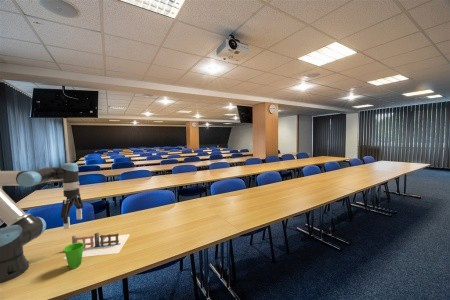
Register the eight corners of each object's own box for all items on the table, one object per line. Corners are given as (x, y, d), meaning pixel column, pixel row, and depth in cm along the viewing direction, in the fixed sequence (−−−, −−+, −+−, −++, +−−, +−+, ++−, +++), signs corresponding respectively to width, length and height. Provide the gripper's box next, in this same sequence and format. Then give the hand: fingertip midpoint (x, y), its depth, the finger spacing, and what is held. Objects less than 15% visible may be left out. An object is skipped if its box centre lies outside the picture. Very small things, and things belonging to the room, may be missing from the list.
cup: (89, 260, 111) (88, 242, 111) (77, 271, 102) (76, 251, 102) (72, 261, 111) (71, 242, 110) (60, 271, 102) (58, 251, 101)
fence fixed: (118, 245, 127) (117, 232, 126) (94, 247, 124) (93, 234, 124) (119, 243, 129) (119, 230, 129) (96, 245, 127) (95, 232, 126)
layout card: (118, 253, 118) (118, 252, 118) (62, 259, 112) (62, 258, 112) (130, 233, 142) (130, 233, 142) (85, 238, 137) (85, 237, 137)
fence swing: (93, 247, 124) (92, 235, 124) (72, 249, 122) (71, 237, 122) (94, 245, 126) (93, 233, 126) (73, 247, 124) (73, 235, 124)
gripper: (66, 194, 104) (68, 232, 106) (88, 183, 129) (90, 215, 130) (50, 195, 103) (52, 233, 104) (75, 184, 127) (77, 216, 128)
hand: (73, 223), depth 117 cm, fingers open, 13 cm apart
